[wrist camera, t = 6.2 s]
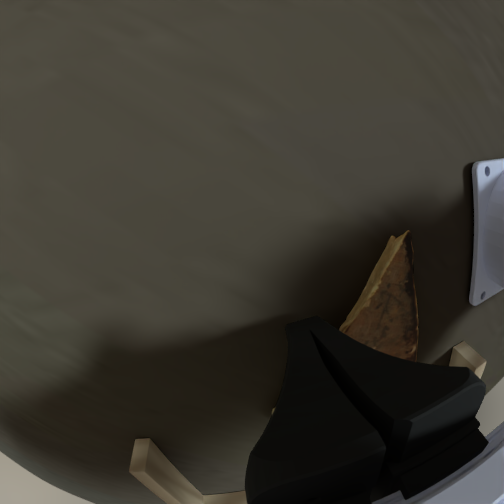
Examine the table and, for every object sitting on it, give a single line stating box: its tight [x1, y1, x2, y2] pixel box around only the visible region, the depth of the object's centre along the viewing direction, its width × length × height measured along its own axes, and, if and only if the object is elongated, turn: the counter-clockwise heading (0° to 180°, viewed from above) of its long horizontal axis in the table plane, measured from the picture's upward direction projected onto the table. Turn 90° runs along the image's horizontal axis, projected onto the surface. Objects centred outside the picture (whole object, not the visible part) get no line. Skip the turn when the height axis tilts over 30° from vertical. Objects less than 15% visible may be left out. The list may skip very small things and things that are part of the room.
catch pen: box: [129, 341, 486, 504], centre depth 14 cm, size 21×10×2 cm, turn 102°
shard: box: [272, 230, 418, 414], centre depth 13 cm, size 11×8×2 cm
